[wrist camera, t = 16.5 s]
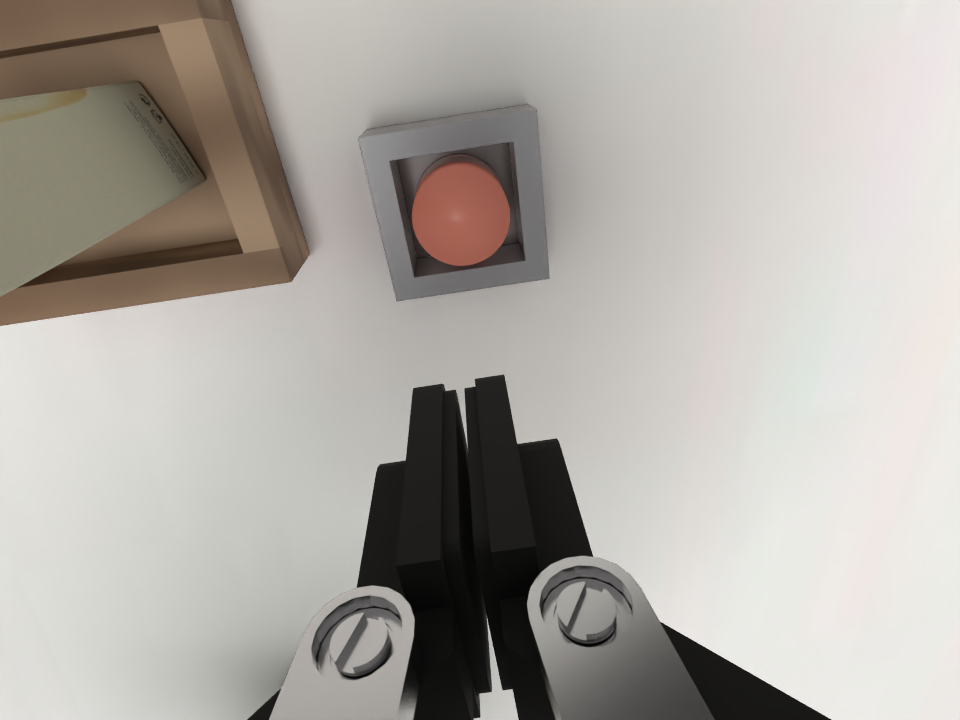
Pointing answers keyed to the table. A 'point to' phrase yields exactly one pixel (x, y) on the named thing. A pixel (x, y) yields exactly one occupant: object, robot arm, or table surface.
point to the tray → (200, 127)
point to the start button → (460, 210)
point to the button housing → (446, 136)
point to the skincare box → (81, 173)
